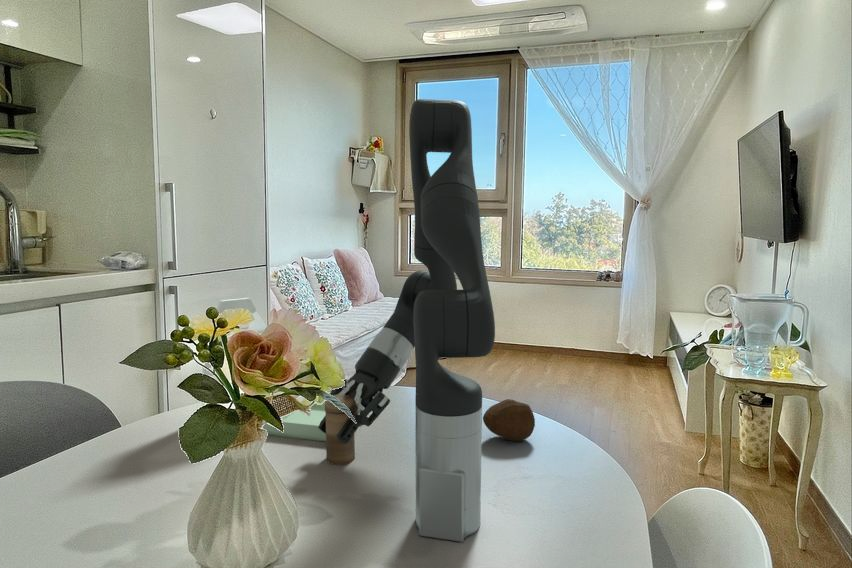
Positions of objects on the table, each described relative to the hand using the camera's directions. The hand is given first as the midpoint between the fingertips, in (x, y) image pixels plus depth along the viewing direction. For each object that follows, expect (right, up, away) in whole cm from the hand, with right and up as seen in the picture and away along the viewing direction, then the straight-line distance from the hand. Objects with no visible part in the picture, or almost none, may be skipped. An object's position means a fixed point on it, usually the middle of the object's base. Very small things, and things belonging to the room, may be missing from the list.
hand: (331, 435), depth 97 cm
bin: (-6, -2, +18) cm, 19 cm away
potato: (+33, -4, +10) cm, 34 cm away
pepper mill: (+1, -5, +2) cm, 5 cm away
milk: (-22, -2, +19) cm, 30 cm away
